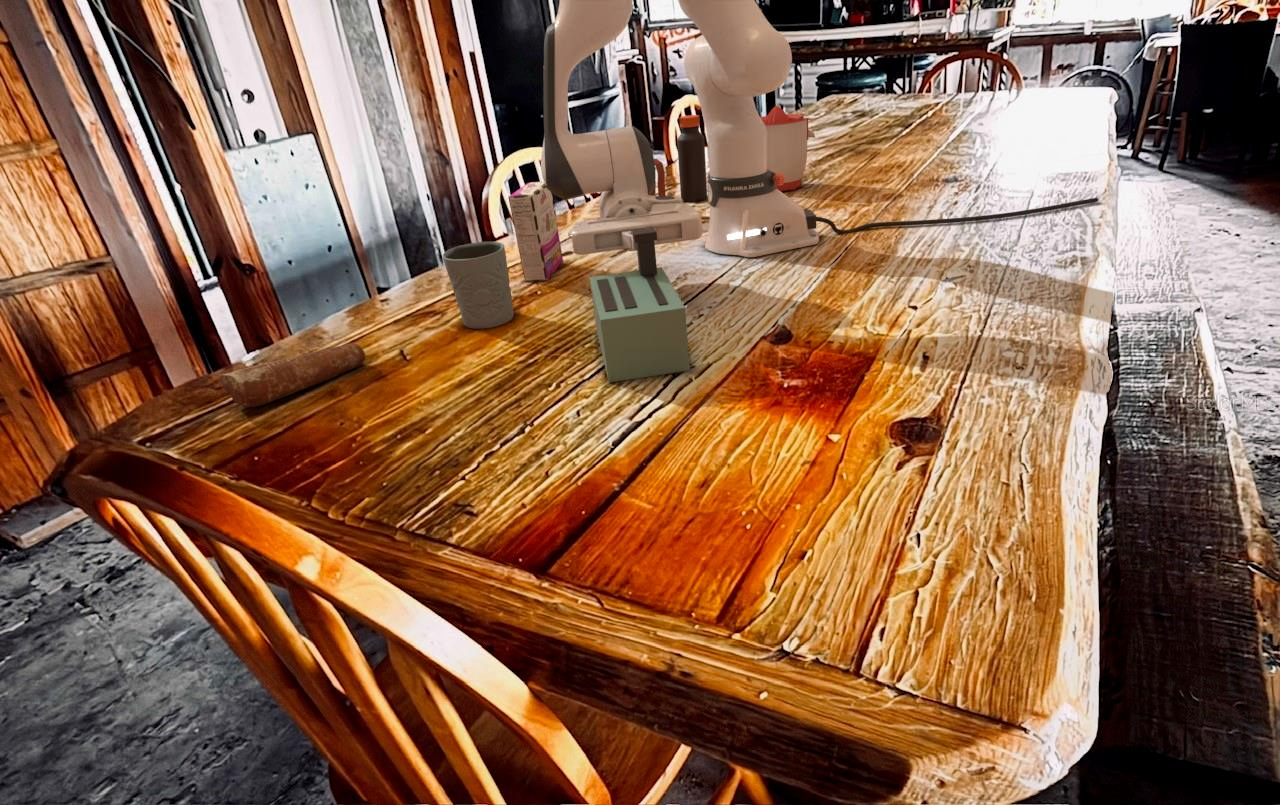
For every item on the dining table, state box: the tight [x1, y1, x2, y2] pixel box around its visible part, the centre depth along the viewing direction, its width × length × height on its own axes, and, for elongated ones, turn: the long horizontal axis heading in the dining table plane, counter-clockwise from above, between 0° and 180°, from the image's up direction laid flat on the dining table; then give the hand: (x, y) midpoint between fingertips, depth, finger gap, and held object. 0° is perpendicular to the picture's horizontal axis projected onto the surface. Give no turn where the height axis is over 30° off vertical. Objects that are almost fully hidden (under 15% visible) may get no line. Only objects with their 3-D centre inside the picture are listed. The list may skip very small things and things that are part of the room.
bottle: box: [676, 114, 708, 203], centre depth 177 cm, size 7×7×20 cm
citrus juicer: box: [760, 105, 816, 192], centre depth 179 cm, size 16×17×20 cm
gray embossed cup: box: [442, 241, 515, 330], centre depth 116 cm, size 10×10×12 cm
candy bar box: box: [508, 181, 564, 282], centre depth 135 cm, size 11×5×16 cm, turn 168°
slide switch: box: [632, 228, 658, 276], centre depth 101 cm, size 3×2×6 cm
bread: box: [218, 342, 366, 409], centre depth 100 cm, size 6×19×6 cm, turn 132°
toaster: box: [589, 266, 691, 383], centre depth 100 cm, size 11×18×9 cm, turn 8°
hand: (642, 244), depth 103 cm, fingers closed
